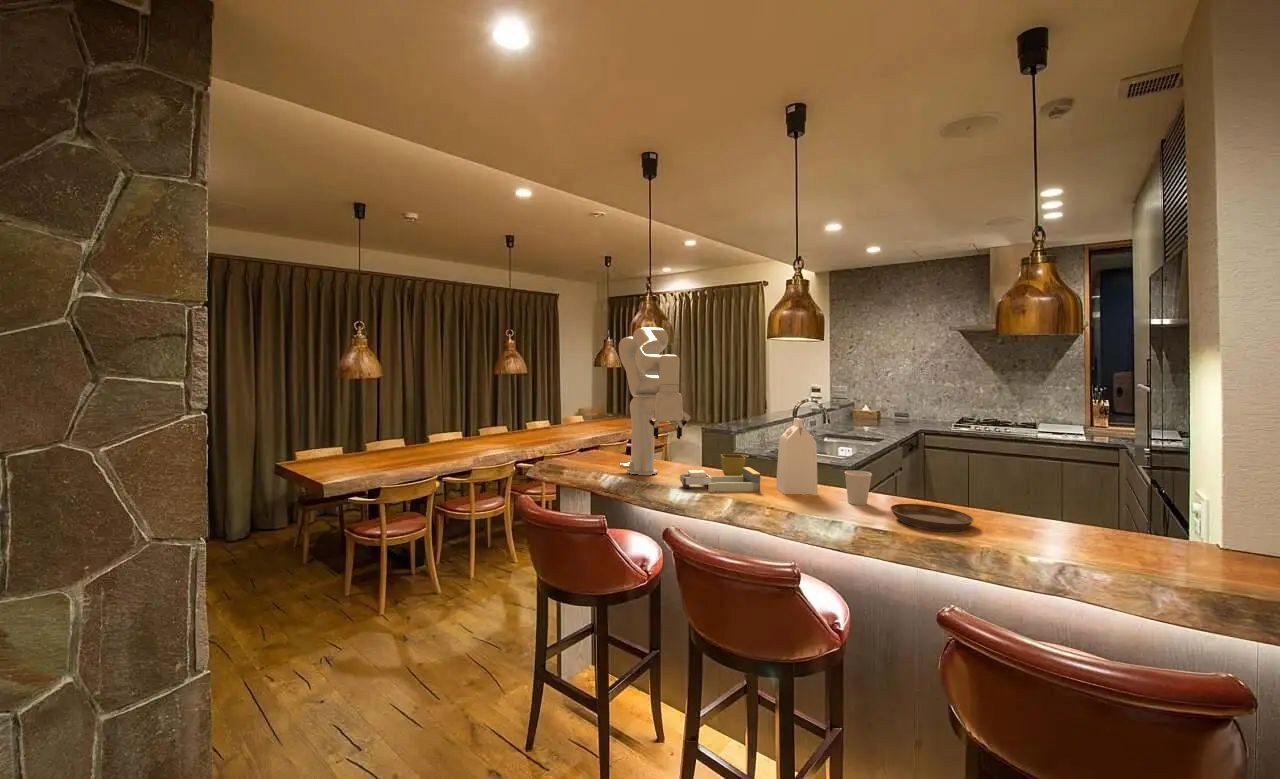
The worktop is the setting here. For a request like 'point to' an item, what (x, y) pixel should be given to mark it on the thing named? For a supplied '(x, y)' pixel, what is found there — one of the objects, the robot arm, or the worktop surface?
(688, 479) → the trolley
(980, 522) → the worktop surface
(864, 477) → the dixie cup
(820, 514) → the worktop surface
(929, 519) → the plant saucer
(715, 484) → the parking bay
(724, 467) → the flower pot
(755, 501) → the worktop surface
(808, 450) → the milk
